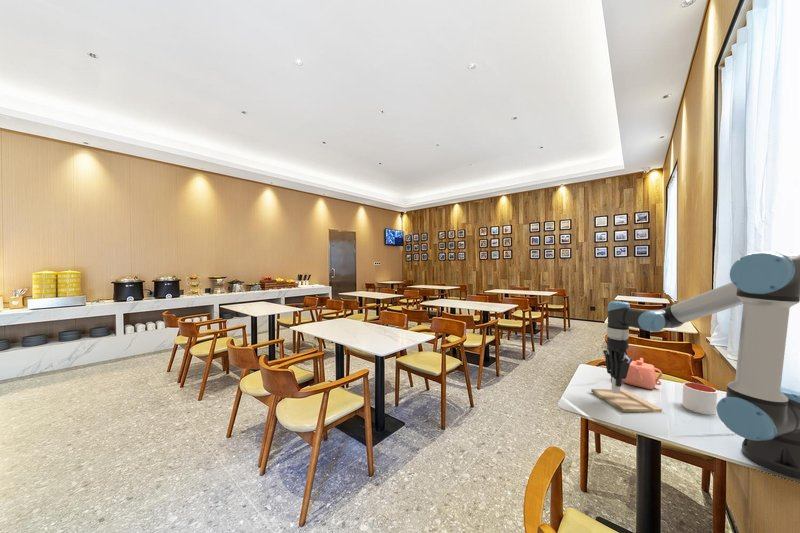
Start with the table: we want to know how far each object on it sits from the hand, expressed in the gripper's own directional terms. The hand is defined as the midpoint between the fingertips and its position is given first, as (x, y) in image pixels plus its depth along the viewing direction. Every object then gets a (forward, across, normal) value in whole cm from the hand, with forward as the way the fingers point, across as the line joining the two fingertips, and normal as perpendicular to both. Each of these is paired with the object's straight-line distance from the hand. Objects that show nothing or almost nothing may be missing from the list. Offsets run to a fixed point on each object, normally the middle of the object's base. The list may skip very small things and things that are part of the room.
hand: (615, 392), depth 130 cm
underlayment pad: (+5, 0, -3) cm, 6 cm away
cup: (+6, -7, -31) cm, 32 cm away
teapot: (+5, +18, -27) cm, 33 cm away
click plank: (+4, 0, -2) cm, 4 cm away
